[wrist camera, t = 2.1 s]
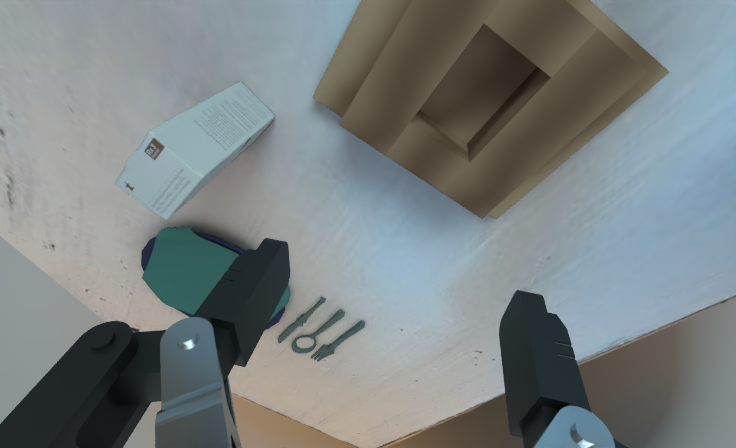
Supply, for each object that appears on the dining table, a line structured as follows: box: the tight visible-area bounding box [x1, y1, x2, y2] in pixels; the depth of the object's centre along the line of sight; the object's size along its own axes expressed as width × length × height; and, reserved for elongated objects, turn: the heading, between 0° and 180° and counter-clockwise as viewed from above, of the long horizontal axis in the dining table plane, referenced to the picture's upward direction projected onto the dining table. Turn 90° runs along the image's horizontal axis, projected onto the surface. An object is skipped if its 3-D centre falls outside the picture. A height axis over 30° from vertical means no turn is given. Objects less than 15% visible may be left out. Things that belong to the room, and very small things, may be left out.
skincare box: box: [115, 82, 275, 220], centre depth 28 cm, size 6×4×12 cm
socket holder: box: [312, 0, 669, 219], centre depth 25 cm, size 20×16×4 cm
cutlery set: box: [141, 226, 365, 361], centre depth 49 cm, size 20×30×2 cm, turn 55°
